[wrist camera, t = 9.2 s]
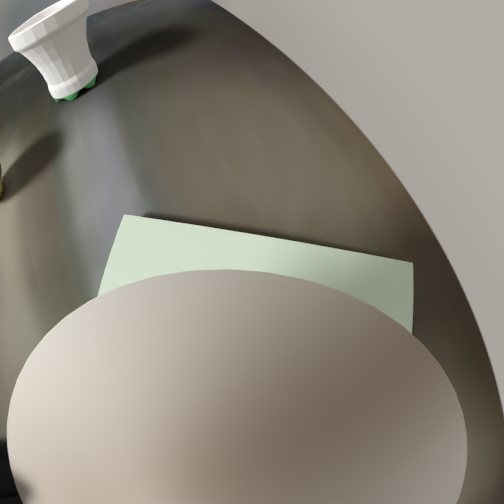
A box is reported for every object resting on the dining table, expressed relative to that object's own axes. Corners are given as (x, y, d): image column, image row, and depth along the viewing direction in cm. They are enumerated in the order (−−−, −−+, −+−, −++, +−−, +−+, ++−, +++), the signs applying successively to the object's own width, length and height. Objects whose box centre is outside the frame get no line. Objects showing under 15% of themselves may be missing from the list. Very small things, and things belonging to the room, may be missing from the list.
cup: (123, 76, 29) (97, -10, 16) (54, 124, 26) (9, 42, 13) (96, 60, 32) (74, -8, 19) (40, 99, 29) (6, 34, 16)
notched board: (378, 469, 14) (386, 475, 13) (85, 418, 15) (75, 421, 14) (403, 269, 20) (412, 262, 19) (130, 223, 21) (124, 214, 20)
